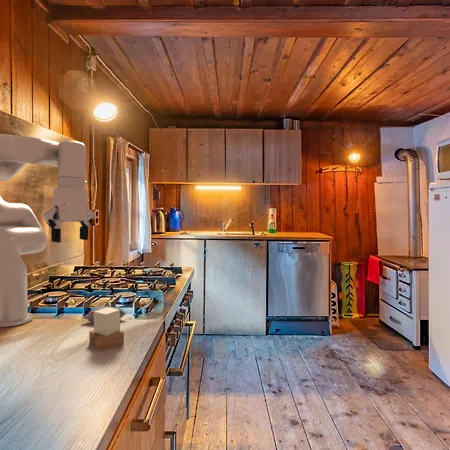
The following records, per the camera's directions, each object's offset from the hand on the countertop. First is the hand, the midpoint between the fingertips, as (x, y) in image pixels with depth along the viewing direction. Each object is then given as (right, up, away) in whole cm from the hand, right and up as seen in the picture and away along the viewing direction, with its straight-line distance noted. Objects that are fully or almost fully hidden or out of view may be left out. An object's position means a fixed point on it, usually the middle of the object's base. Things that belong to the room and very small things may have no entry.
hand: (70, 240), depth 104 cm
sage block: (+13, -26, -6) cm, 29 cm away
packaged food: (+5, -29, +14) cm, 32 cm away
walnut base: (+13, -30, -5) cm, 33 cm away
